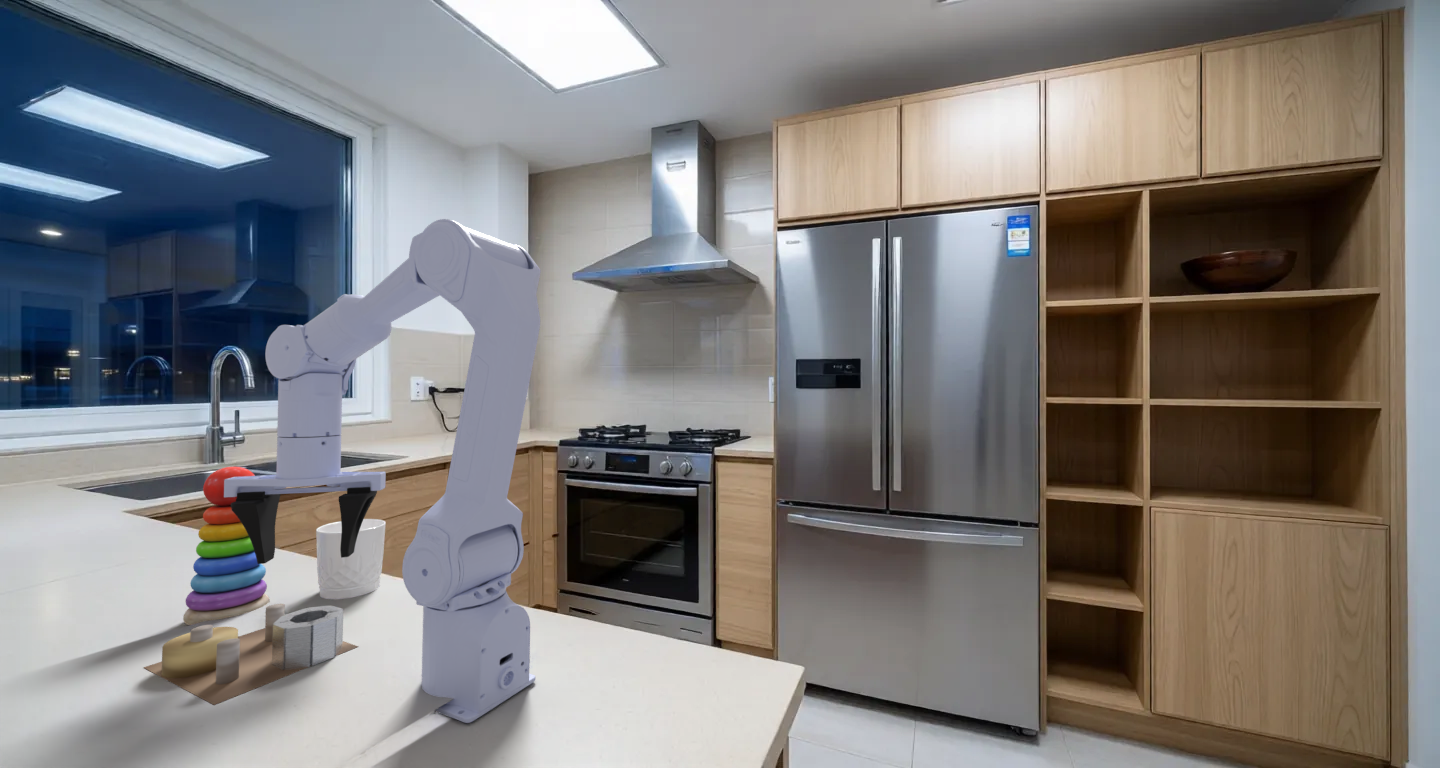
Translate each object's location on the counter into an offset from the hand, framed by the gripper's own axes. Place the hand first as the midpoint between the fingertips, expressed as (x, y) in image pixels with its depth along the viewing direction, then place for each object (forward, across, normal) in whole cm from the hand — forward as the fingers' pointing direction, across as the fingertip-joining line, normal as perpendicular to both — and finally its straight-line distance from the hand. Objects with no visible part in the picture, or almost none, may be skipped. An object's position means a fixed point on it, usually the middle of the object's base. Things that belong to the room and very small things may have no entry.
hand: (307, 558), depth 60 cm
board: (+10, +3, +4) cm, 11 cm away
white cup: (+10, 0, -15) cm, 18 cm away
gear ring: (+9, -2, +5) cm, 10 cm away
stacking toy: (+10, +12, -12) cm, 20 cm away
